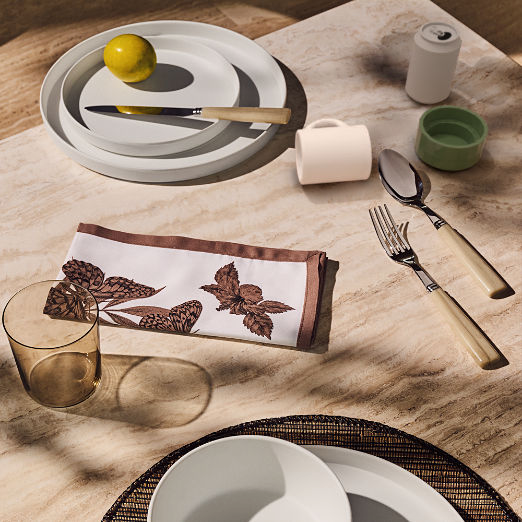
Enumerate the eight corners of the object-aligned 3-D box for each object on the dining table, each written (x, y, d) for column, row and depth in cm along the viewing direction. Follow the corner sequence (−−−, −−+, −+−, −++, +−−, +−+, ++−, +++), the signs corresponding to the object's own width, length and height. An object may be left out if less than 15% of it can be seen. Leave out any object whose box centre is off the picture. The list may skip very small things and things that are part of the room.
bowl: (468, 128, 110) (475, 102, 106) (489, 170, 103) (497, 144, 100) (406, 133, 109) (411, 107, 105) (423, 176, 103) (429, 150, 99)
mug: (368, 190, 101) (374, 148, 95) (301, 195, 100) (303, 154, 94) (352, 138, 109) (357, 97, 103) (290, 143, 108) (292, 101, 102)
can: (432, 112, 113) (447, 48, 104) (395, 94, 116) (406, 31, 107) (457, 92, 116) (473, 28, 107) (420, 75, 120) (432, 12, 110)
